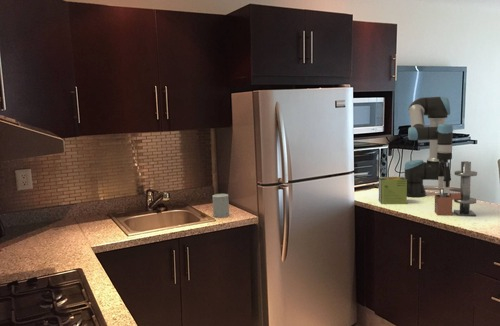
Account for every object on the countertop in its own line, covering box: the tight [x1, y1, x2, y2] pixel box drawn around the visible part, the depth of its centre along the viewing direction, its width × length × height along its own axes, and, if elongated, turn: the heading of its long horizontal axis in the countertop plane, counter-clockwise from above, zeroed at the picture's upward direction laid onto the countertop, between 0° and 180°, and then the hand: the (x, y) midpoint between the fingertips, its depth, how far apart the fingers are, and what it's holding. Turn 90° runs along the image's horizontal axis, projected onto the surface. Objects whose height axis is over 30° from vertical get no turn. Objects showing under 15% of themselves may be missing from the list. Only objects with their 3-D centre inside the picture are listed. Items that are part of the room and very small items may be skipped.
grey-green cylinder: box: [211, 193, 230, 219], centre depth 251 cm, size 10×10×12 cm
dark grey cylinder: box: [439, 188, 449, 197], centre depth 236 cm, size 4×4×14 cm
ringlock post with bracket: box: [434, 160, 478, 217], centre depth 234 cm, size 11×20×29 cm, turn 78°
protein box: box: [378, 176, 408, 205], centre depth 267 cm, size 10×15×16 cm
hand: (443, 190), depth 235 cm, fingers open, 13 cm apart
